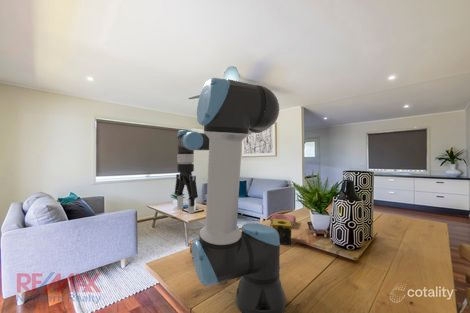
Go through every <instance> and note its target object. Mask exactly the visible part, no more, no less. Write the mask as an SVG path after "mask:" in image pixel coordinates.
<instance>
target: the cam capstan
mask: <svg viewBox="0 0 470 313" xmlns="http://www.w3.org/2000/svg"><path fill="white" fill-rule="evenodd" d="M193 241H194V240H190V241H189V253H190V254H192V243H193Z"/></svg>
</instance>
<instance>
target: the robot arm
mask: <svg viewBox="0 0 470 313" xmlns="http://www.w3.org/2000/svg"><path fill="white" fill-rule="evenodd" d="M198 97H199V98H198V101H197V108H196V116H197V117H196V120H197V123H198V124H199V125H201V126H202V127H203V132H198V131H193V130H191V129H182V130H181V129H179V130H178V131H177V136H176V139H177V158H176V162H177V163H178V164H177V172H178V173H179V174H178V173H177V174H176V175H175V177H176V180H175V188H174V194H175V195H176V197H177V198H176V199H177V201H176V202H177V205H176V206H177V207H176V208H177V211H178V210H183V209H184V190H185V187H186V190H187V193H188V198H187V200H188V201H187V203H188V204H187V205H188V206H187V208H188V211H187V213H188V214H189V215H190V214H195V205H196V203H195V199H197V198H198V197H199V194H198V187H197V181H196V180H197V175H192V173H193V172H194V171H195V165H194V162H195V153H194V152H195V151H208V160H207V161H208V162H207V163H208V164H207V165H208V166H207V184H206V185H207V186H206V187H207V188H206V206H205V209H206V210H205V212H206V213H205V225H204V226H203V227H202V228H201V229H200V230H199V238H198V239H195V240H192V241H193V243H192V253H191V254H192V261H193V265H194V269H195V272H196V276H197V277H198V280H199V282H200V283H201V284H202V285H203V286H205V287H207V286H208V287H209V286H213V285H219V284H221V283H224V282H227V281H231V280H235V279H237V278H240V279H239V282H238V286H237V290H236V294H235V300H236V302H235V303H236V306H237V308H238V310H239V311H240V312H241V313H284V312H285V309H286V295H285V294H286V293H285V292H284V288H283V284H282V282H281V277H280V268H281V267H280V255H281V254H280V253H281V252H280V251H281V250H280V248H281V247H280V246H281V244H280V241H279V233H278V232H277V230H276V229H274V228H272V226H270V225H266V224H261V223H257V222H256V223H255V222H254V223H253V222H251V223H250V222H249V223H244V224H243V225H242V226H241V228H239V226H238V214H239V213H238V211H239V210H238V209H239V196H240V195H239V194H240V193H239V192H240V180H241V177H240V176H241V163H242V162H241V161H242V147H243V141H244V140H245V139H246V138H247V137H248V136H251V135H252V134H260V133H263V132H265V131H266V130H268V129H270V128H271V127H272V126H273V125H274V124H275V123H276V122H277V120H278V117H279V114H280V103H279V100H278V99H277V96H276V95H275V93H274V92H273V91H272V90H271V89H269V88H268V87H266V86H264V85H260V84H259V85H258V84H252V83H247V82H244V81H243V82H242V81H239V80H238V81H237V80H234V79H233V80H232V79H229V78H219V77H212V78H210V79H207V81H206V82H205V83H204V85H203V87H202V88H201V91H200V94H199V96H198ZM237 226H238V227H237Z"/></svg>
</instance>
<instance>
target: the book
mask: <svg viewBox="0 0 470 313" xmlns="http://www.w3.org/2000/svg"><path fill="white" fill-rule="evenodd" d="M273 219H281V220H290V222H291V230H293V229H294V227H295V225H294V224H296V221H297V220H296V215H290V214H284V213H283V214H281V213H274V214H273V215H272V216H271V217H270V218H269V221H270V224H269V226H270V227H272V225H273ZM293 226H294V227H293ZM292 228H293V229H292Z"/></svg>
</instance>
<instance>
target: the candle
mask: <svg viewBox="0 0 470 313" xmlns="http://www.w3.org/2000/svg"><path fill="white" fill-rule="evenodd" d="M271 227H272V228H274V229H276V230H277V232H278V233H279V241H280V245H289V246H290V245H292V229H291V222H290V220H281V219H273V225H272V226H271Z"/></svg>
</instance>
